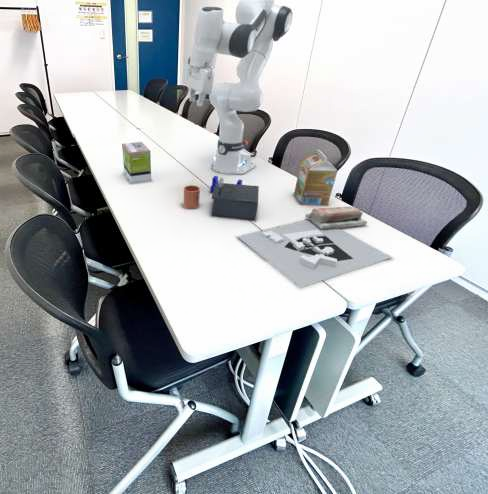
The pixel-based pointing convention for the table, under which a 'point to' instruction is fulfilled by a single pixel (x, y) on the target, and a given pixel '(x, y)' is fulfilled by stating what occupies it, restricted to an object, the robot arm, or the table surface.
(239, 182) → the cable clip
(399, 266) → the table surface
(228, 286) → the table surface
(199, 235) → the table surface
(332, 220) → the packaged product
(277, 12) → the robot arm
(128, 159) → the tea box
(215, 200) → the dark grey open box
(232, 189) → the lid
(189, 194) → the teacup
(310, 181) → the milk carton
